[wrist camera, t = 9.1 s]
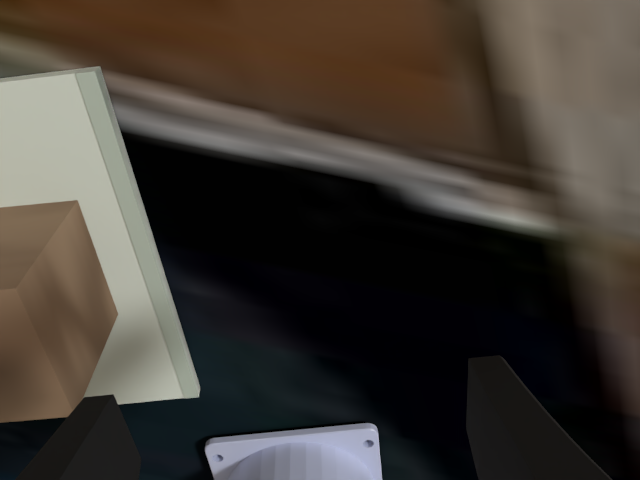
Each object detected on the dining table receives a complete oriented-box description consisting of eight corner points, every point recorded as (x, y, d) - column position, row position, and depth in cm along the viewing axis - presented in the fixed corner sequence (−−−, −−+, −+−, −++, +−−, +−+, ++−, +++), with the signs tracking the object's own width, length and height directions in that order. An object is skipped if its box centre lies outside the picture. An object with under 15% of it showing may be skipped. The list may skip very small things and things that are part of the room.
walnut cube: (118, 314, 22) (75, 416, 18) (-9, 325, 22) (-82, 429, 18) (77, 200, 20) (15, 288, 15) (-66, 213, 20) (-167, 305, 16)
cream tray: (200, 387, 25) (198, 397, 25) (-1, 408, 26) (-7, 417, 25) (100, 66, 18) (94, 71, 17) (-182, 100, 18) (-194, 106, 18)
